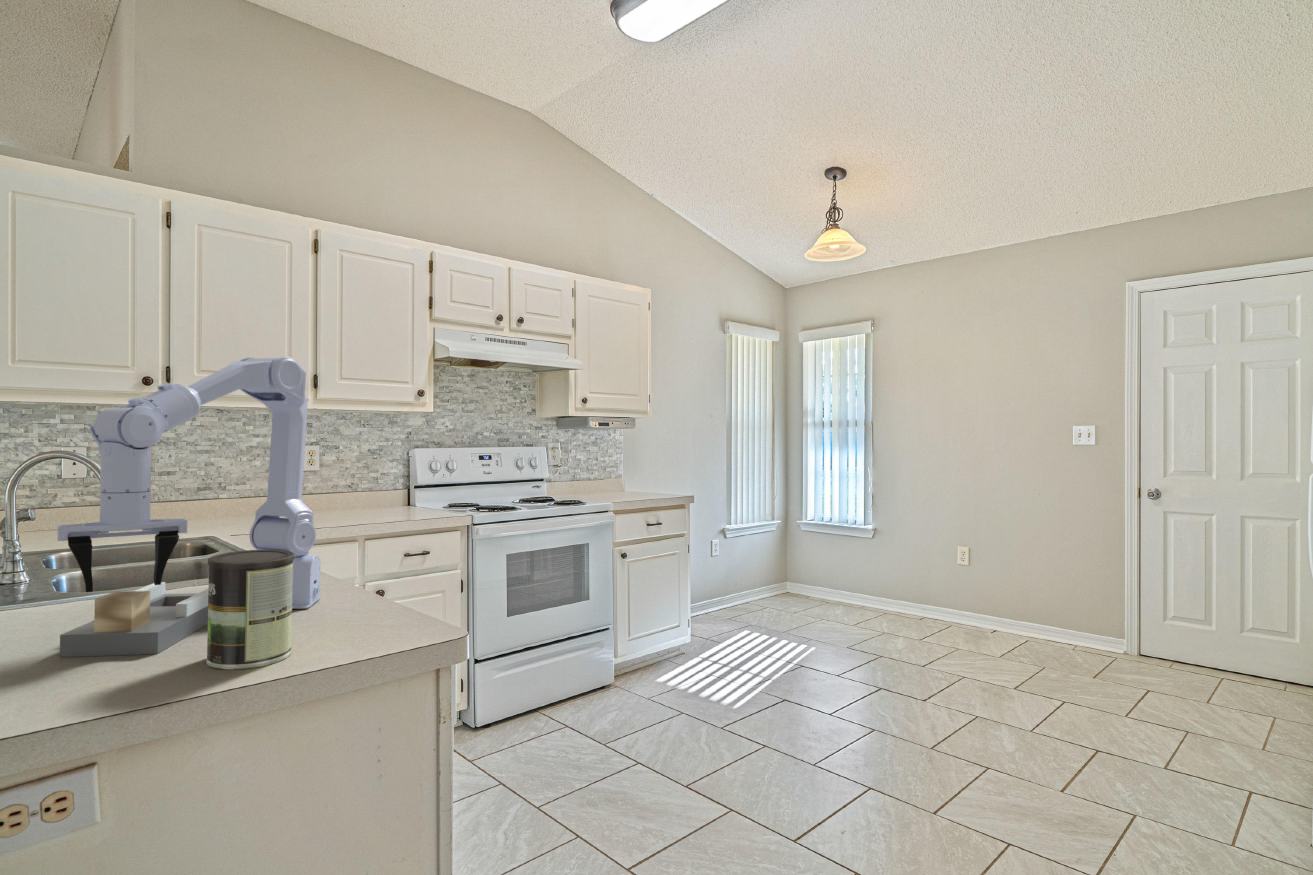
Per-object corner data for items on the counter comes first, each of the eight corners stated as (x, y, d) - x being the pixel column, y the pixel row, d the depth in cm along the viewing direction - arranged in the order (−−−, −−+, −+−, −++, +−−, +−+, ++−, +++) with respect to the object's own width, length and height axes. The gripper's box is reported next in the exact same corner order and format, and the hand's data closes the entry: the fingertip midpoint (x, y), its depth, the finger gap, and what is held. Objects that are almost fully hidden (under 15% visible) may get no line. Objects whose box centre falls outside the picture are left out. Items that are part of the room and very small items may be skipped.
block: (149, 622, 101) (150, 590, 101) (131, 631, 96) (131, 598, 96) (114, 623, 100) (114, 591, 100) (94, 632, 95) (94, 599, 95)
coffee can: (198, 674, 89) (200, 564, 88) (214, 650, 98) (215, 551, 98) (289, 665, 93) (291, 560, 93) (295, 643, 102) (297, 547, 102)
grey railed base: (232, 609, 120) (232, 581, 120) (157, 653, 96) (158, 617, 96) (155, 611, 118) (155, 582, 118) (59, 657, 94) (60, 620, 94)
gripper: (183, 487, 106) (181, 576, 106) (58, 491, 96) (56, 588, 96) (190, 491, 101) (188, 584, 101) (58, 495, 91) (56, 598, 91)
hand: (124, 587), depth 98 cm, fingers open, 7 cm apart
